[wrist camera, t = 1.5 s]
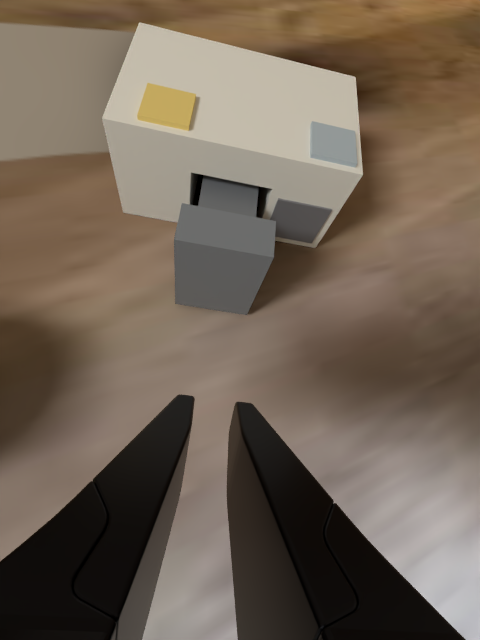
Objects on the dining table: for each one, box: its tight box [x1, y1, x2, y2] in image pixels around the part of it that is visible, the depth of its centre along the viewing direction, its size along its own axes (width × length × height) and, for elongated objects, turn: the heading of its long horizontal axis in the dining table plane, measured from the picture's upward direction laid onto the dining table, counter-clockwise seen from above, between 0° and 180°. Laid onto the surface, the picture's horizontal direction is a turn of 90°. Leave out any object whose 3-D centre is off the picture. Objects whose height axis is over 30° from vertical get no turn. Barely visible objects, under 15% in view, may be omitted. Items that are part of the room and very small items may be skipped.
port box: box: [102, 22, 363, 248], centre depth 25 cm, size 10×16×8 cm, turn 84°
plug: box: [174, 175, 276, 315], centre depth 22 cm, size 9×5×8 cm, turn 174°
